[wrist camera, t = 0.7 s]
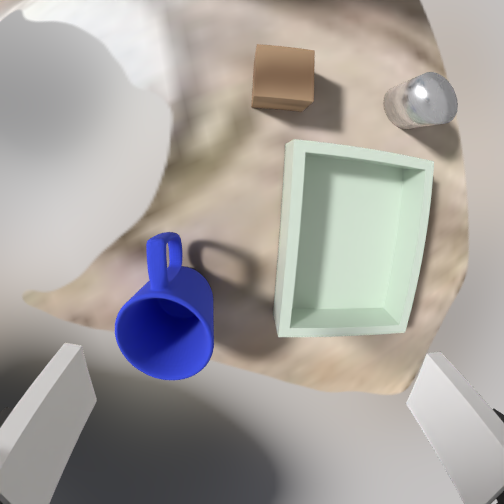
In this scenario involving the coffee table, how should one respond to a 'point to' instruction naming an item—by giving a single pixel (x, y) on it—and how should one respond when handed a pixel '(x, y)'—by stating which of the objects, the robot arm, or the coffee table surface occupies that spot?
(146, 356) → the mug
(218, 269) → the coffee table surface
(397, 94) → the canister
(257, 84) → the walnut block
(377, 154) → the tote
